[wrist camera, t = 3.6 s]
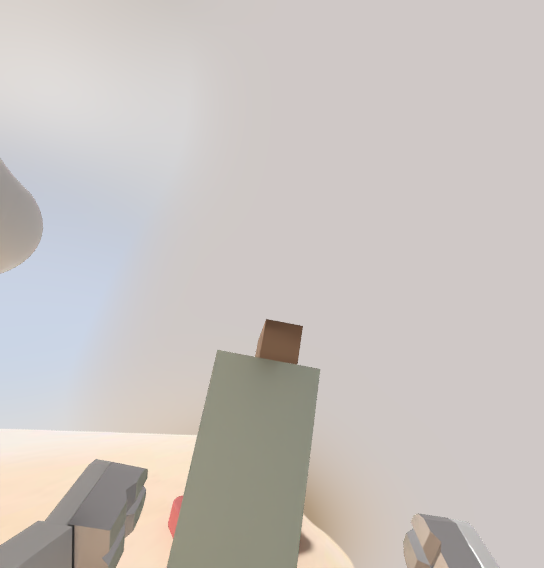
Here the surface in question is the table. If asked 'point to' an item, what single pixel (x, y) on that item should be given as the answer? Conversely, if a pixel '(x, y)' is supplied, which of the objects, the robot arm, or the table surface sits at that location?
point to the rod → (279, 342)
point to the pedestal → (248, 467)
